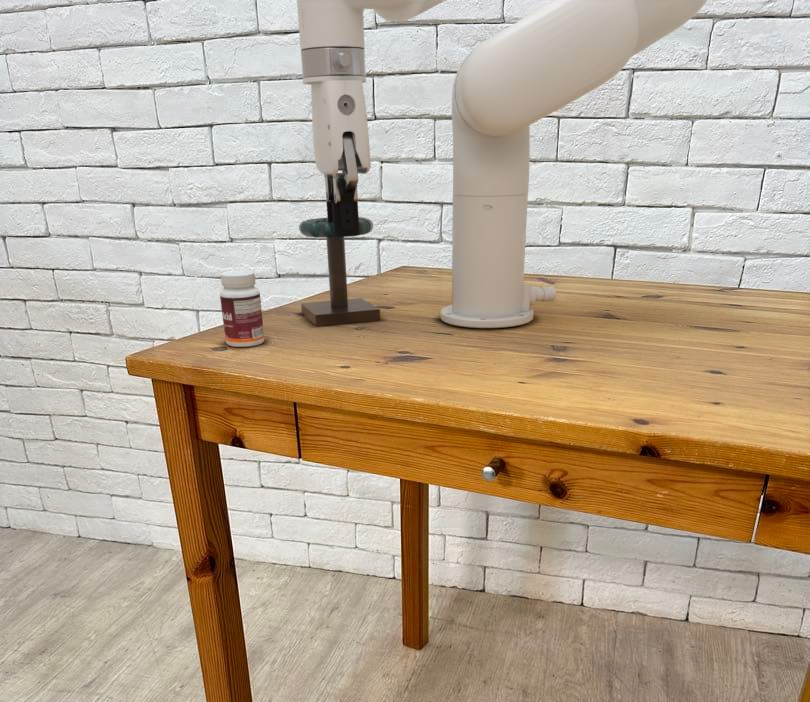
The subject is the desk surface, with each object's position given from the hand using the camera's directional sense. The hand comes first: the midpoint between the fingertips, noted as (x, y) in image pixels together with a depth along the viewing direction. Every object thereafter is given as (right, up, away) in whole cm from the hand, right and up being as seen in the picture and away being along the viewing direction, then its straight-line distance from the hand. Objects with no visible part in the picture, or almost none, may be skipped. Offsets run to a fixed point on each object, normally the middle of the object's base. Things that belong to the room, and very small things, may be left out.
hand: (343, 233), depth 99 cm
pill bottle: (-12, -15, -4) cm, 20 cm away
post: (-1, -8, +9) cm, 12 cm away
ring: (-1, +2, +3) cm, 4 cm away
